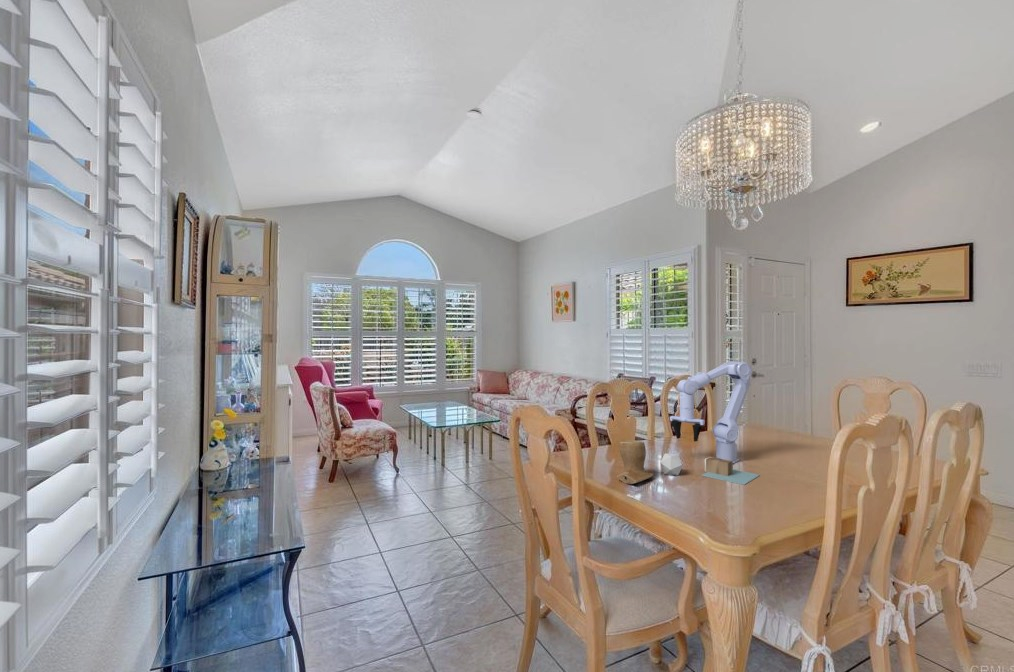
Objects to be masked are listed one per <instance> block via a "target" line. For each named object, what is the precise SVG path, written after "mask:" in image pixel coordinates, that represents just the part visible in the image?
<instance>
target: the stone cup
mask: <svg viewBox="0 0 1014 672" xmlns="http://www.w3.org/2000/svg"><path fill="white" fill-rule="evenodd" d="M646 451H647V450H646V445H645V442H644V441H643V440H622V441H620V442H619V454H620V457H621V460H622V463H623V466H624V470H623V472H621V473H619V474H618V475H617V476H616V477H617V480H619V481H621V482H622V483H624V484H628V485H633V484H637V483H640V482H643V481H645V480H647V479H650V478H652V477H653V476H654V474H653V473H652V472H650V471H646V470H645V461H646V457H647V455H646V453H647V452H646Z"/></svg>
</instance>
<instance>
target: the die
mask: <svg viewBox="0 0 1014 672" xmlns="http://www.w3.org/2000/svg"><path fill="white" fill-rule="evenodd" d="M659 463H660V467H661V468H662V471H663V474H664V475H670V476H679V474H680V472H681V470H682V468H683V464H682V460H681V458H680V455H679V454H676V453H668V452H667V453H664V454H663V457H661V460H660V462H659Z"/></svg>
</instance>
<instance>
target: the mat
mask: <svg viewBox="0 0 1014 672" xmlns="http://www.w3.org/2000/svg"><path fill="white" fill-rule="evenodd" d="M701 476H702V477H706V478H711V479H715V480H720V481H724V482H730V483H735V484H738V485H744V486H746V485H747V484H748V483H750V482H752V481H753V480H755V479H756V478H758V477H760V474H757V473H752V472H749V471H748V472H747V471H743V470H739V469H738V470H736V469H733V474H731V475H729V476H725V475H720V474H715V473H710V472H704V473H702V474H701Z"/></svg>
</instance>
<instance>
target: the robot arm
mask: <svg viewBox="0 0 1014 672" xmlns="http://www.w3.org/2000/svg"><path fill="white" fill-rule="evenodd" d="M752 372H753V369H752V368H751V366H750V364H749V363H748V362H745V361H733V360H728V361H727V362H723V363H722V364H721V365H719V366H717V367H715V368H713V369H711V370H709V371H708V372H703V371H698V372H696V374H695V375H692V376H688V377H687V379H681V380H680V381H679V382H678V383H677V385H676V389H677V391H678V394H679V416H676V415H671V416H669V421H670V425H671V426H672V428H673V430H674V433H675V437H676V439H681V431H682V429H681V428H682V423H685V424H692V430H693V442H698V440H699V436H700V434H701V431H702V429H703V427H704V426H705V422H706V420H705V419H701V418H696V417H695V402H694V401H695V393H696V392H697V391H698V390H699V389H701V388H703V387H705V386H707V385H709V384H710V382H711V381H712V380H714V379H716V378H719V377H722V376H724V375H728V376H729V378H731V380H732V381H733V383H734V386H733V389H732V392H731V395H730V397H729V400H728V403H727V406H726V408H725V409H724V410H725V411H724V413H723V416H722V417H721V418H720V419H718V420H717V422H716V424H715V425H713V427H712V429H711V431H712V434H713V436H714V439H715V458H720V459H725V460H731V461H733V464H735V463H737V462H739V461H740V459H739V458H738V446H737V443H736V441H737V439H738V437H739V429H740V427H739V425H738V423H737V421H738V418H739V415H740V413H741V410H742V407H743V405H744V403H745V399H746V396H747V394H748V392H749V387H750V385H751V374H752Z"/></svg>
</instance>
